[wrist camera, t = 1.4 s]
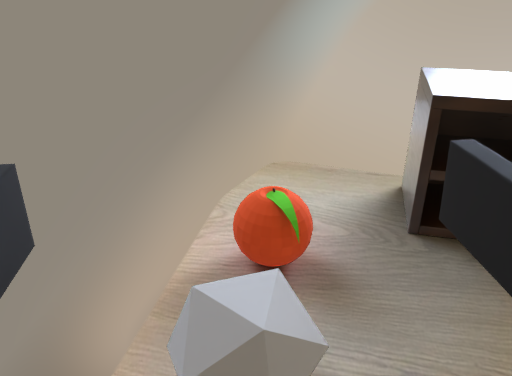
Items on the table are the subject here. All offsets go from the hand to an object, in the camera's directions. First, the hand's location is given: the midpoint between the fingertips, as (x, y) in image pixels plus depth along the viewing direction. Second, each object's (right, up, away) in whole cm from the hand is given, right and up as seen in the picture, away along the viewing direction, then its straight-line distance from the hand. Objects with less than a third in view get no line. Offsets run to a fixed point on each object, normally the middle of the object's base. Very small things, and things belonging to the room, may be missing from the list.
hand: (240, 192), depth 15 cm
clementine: (+2, -7, +28) cm, 29 cm away
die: (0, -13, +16) cm, 20 cm away
